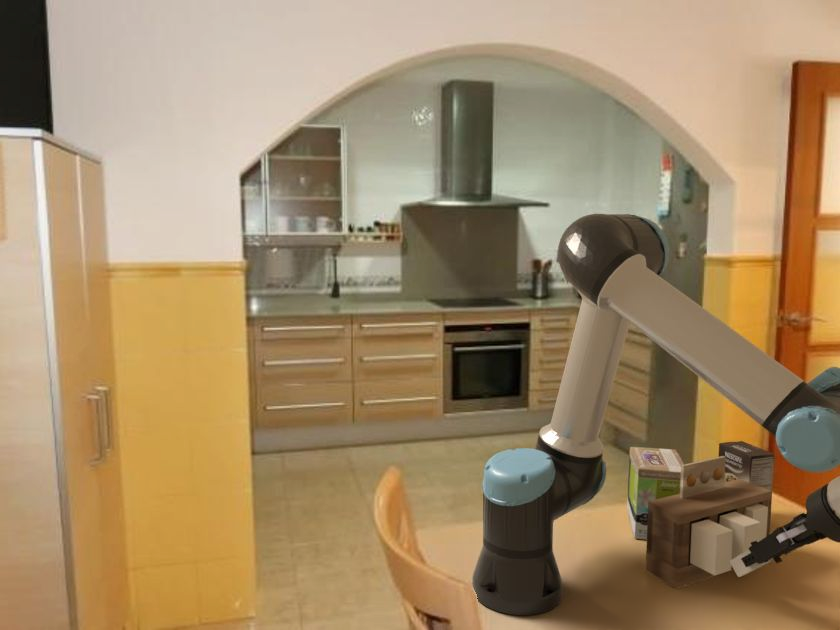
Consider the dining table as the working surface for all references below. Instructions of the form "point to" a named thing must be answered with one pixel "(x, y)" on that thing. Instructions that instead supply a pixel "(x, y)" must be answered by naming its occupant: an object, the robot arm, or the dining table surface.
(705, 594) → the dining table surface
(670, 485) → the tea box
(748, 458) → the coffee box
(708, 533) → the left button
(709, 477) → the console
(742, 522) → the middle button
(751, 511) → the right button
